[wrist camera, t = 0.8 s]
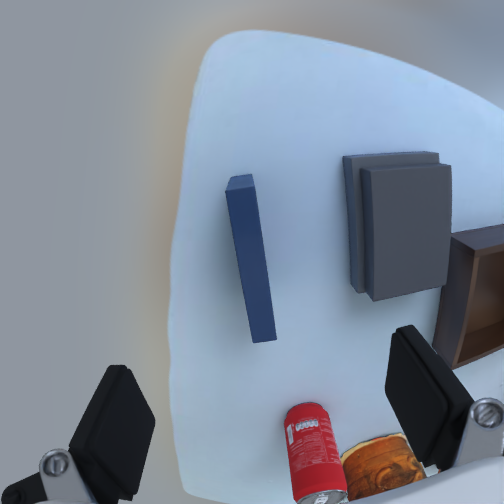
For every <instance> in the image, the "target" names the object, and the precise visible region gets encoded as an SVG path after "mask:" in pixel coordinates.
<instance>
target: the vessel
mask: <svg viewBox="0 0 504 504" xmlns="http://www.w3.org/2000/svg"><path fill="white" fill-rule="evenodd" d="M408 444H409V442H408V440H407V438H406V436H405V435H403V436H402V434H401V433H398V434H395V435H389V436H388V437H380V438H376V439H373V440H371V441H369V442H364V443H359V444H358V445H357V446H355V447H353V448H352V449H350V450H348V451H347V452H345V453H344V454H343V457H341V458H340V459H341V463H342V467H343V471H344V475H345V479H346V483H347V493H348V496H347V498H348V501H349V502H350V501H354V500H358V499H362V498H366V497H369V496H373V495H376V494H380V493H383V492H386V491H389V490H393V489H396V488H399V487H402V486H405V485H408V484H411V483H414V482H417V481H419V480H422V479H425V478H427V476H426V474H425V472H424V469H423V467H422V465H421V463H420V462H418V461H417V460H416V458H415V455H414V453H413V452H412V449H411V447H410V445H408Z"/></svg>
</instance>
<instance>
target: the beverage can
mask: <svg viewBox="0 0 504 504" xmlns="http://www.w3.org/2000/svg"><path fill="white" fill-rule="evenodd" d="M284 427H285V435H286V443H287V451H288V458H289V466H290V474H291V482H292V490H293V498H294V500H295V501H296V502H297V504H337V503H339V502H340V501H342V500H343V499H344V498H345V497H346V495H347V493H346V490H347V483H346V479H345V475H344V471H343V467H342V463H341V459H340V456H339V452H338V448H337V444H336V440H335V437H334V433H333V429H332V426H331V422H330V418H329V415H328V413H327V412H326V411H325V410H324V409H323V407H322V406H321V405H319V404H317V403H313V402H307V403H301V404H298V405H296V406H294V407H293V408H291V409H290V410H289V411H288V413H287V417H286V419H285V421H284Z"/></svg>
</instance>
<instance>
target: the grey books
mask: <svg viewBox="0 0 504 504" xmlns="http://www.w3.org/2000/svg"><path fill="white" fill-rule="evenodd" d="M343 163H344V173H345V184H346V195H347V209H348V224H349V243H350V272H351V285H352V286H353V287H354V289H355V290H356V292H357V293H358V294H359V293H364V292H366V293H367V294H368V295H369V297H370V298H371V300H372V301H379V300H383V299H388V298H393V297H397V296H402V295H406V294H410V293H415V292H419V291H423V290H427V289H431V288H435V287H439V286H443V285H446V281H447V273H448V263H449V252H450V239H451V218H452V171H451V165H446V164H441V163H439V153H435V152H427V151H422V152H397V153H380V154H365V155H352V156H343Z"/></svg>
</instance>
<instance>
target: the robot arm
mask: <svg viewBox="0 0 504 504" xmlns="http://www.w3.org/2000/svg"><path fill="white" fill-rule="evenodd" d="M385 393H386V396H387V398H388V400H389V402H390V404H391V406H392V408H393V410H394V412H395V415H396V417H397V419H398V421H399V423H400V425H401V427H402V429H403V431H404V434H405V436H406V438H407V440H408V442H409V444H410V447H411V449H412V451H413V453H414V455H415V458H416V460H417V461H418V462H422V463H423V465H424V467H425V468H426V467H429V466H431V465H433V464H436V466H437V468H438V469H439V471H438V474H435V475H432V476H430V477H427V478H425V479H422V480H419V481H417V482H414V483H411V484H408V485H405V486H402V487H399V488H396V489H393V490H389V491H386V492H383V493H380V494H376V495H373V496H369V497H366V498H362V499H358V500H354V501H350V502H345V503H341V504H504V405H503V403H502V402H500V401H498V400H497V399H493V398H482V399H479V400H477V401H476V402H475V401H474V400H473V398H472V397H471V396H470V394H469V393H468V392H467V390H466V389H465V387H464V386H463V385H462V383H461V382H460V381H459V379H458V378H457V377H456V375H455V374H454V373H453V372H452V370H451V369H450V368H449V366H448V365H447V364H446V362H445V361H444V360H443V359H442V357H441V356H440V355H439V354H436V353H435V352H434V350H433V349H432V348H431V347H430V345H429V344H428V343H427V341H426V340H425V339H424V338H423V336H422V335H421V334H420V333H419V332H418V330H417V329H416V328H415V327H414V326H413V325H408V326H404V327H400V328H397V329H396V333H393V334H392V338H391V346H390V355H389V362H388V369H387V376H386V382H385ZM154 427H155V417H154V415H153V413H152V411H151V409H150V407H149V406H148V404H147V402H146V400H145V398H144V396H143V394H142V392H141V390H140V388H139V386H138V384H137V382H136V379H135V377H134V375H133V373H132V371H131V370H130V369H127V367H126V366H125V365H110V366H109V367H108V368H107V370H106V372H105V374H104V376H103V378H102V380H101V381H100V383H99V385H98V387H97V389H96V391H95V393H94V395H93V397H92V399H91V401H90V403H89V405H88V407H87V409H86V411H85V413H84V415H83V417H82V419H81V421H80V423H79V425H78V427H77V429H76V431H75V433H74V435H73V437H72V439H71V441H70V444H69V447H70V448H69V450H68V451H66V450H64V449H54V450H51V451H49V452H47V453H46V454H45V455H44V456H43V457H42V459H41V460H40V464H39V471H40V472H38V473H36V474H34V475H31V476H29V477H27V478H25V479H23V480H21V481H19V482H16V483H14V484H12V485H10V486H8V487H7V488H6V489H5V490H4V492H3V494H2V498H1V501H2V504H118V500H119V499H122V500H128V501H132V499H133V495H135V494H137V492H138V489H139V485H140V480H141V477H142V472H143V469H144V465H145V461H146V457H147V453H148V449H149V445H150V442H151V438H152V434H153V431H154Z"/></svg>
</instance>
